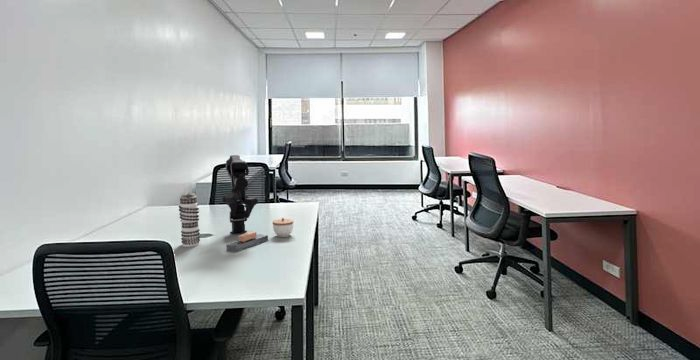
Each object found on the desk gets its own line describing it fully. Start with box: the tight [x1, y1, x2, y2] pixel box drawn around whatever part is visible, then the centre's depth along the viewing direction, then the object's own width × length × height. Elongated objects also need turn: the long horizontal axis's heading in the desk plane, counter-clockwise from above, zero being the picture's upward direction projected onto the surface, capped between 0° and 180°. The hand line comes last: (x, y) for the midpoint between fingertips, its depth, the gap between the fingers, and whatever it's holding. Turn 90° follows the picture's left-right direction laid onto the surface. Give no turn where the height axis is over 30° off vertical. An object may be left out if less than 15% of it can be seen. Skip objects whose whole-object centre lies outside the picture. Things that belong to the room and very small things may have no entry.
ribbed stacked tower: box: [178, 192, 201, 248], centre depth 206 cm, size 9×9×25 cm
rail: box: [225, 233, 269, 252], centre depth 205 cm, size 6×22×2 cm, turn 150°
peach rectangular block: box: [238, 231, 257, 242], centre depth 205 cm, size 3×9×6 cm, turn 150°
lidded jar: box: [272, 217, 294, 238], centre depth 221 cm, size 11×11×9 cm
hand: (240, 216), depth 213 cm, fingers open, 9 cm apart
